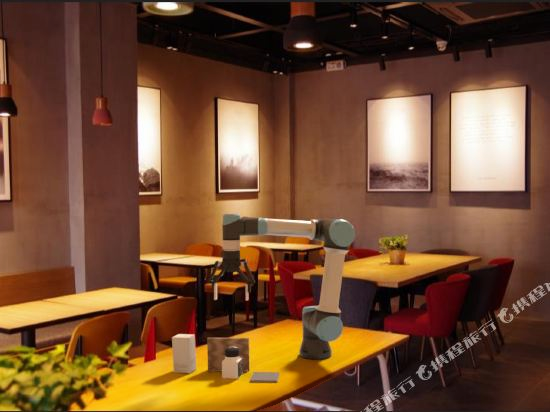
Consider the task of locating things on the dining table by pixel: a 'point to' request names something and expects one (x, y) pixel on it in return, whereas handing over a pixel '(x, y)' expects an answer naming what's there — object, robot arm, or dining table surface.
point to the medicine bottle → (232, 364)
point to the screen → (218, 352)
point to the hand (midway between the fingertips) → (231, 299)
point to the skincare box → (184, 353)
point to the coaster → (264, 377)
